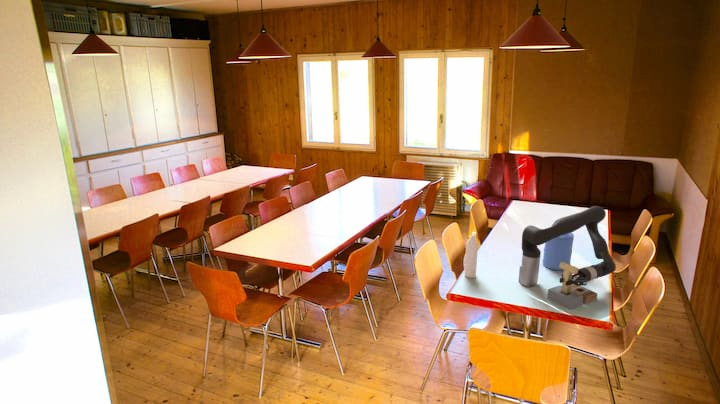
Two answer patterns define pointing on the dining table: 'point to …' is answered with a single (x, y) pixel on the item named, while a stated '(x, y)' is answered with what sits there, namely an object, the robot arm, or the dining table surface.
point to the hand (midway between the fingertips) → (563, 282)
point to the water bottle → (471, 256)
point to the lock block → (584, 293)
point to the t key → (567, 276)
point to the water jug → (558, 251)
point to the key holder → (565, 297)
